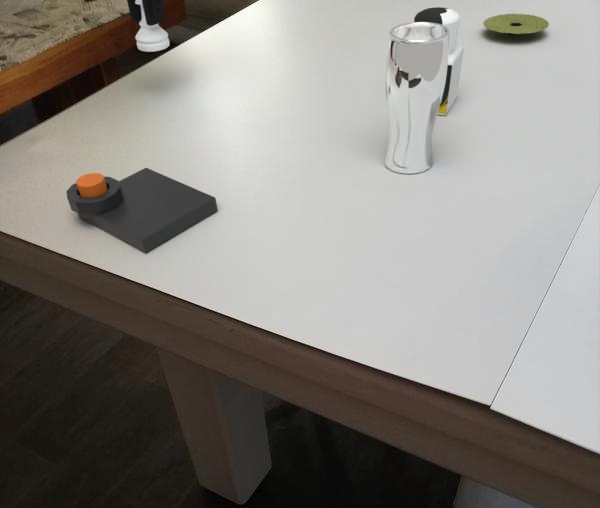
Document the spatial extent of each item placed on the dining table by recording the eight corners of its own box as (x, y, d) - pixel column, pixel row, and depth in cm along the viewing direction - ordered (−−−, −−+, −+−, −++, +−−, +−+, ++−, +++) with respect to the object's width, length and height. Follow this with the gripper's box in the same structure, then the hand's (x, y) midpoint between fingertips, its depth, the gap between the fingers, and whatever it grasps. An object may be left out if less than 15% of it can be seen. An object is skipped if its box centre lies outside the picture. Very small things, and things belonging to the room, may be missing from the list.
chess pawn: (132, 51, 90) (116, -19, 83) (145, 41, 93) (131, -28, 87) (162, 52, 89) (148, -19, 83) (174, 42, 92) (162, -28, 86)
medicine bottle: (397, 111, 87) (404, 17, 78) (411, 92, 91) (418, 2, 82) (445, 116, 84) (458, 20, 76) (457, 97, 89) (470, 4, 80)
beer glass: (369, 163, 76) (374, 32, 65) (407, 145, 79) (417, 17, 68) (409, 181, 72) (421, 46, 61) (447, 162, 75) (465, 29, 64)
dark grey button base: (66, 219, 71) (56, 192, 68) (144, 179, 77) (137, 152, 74) (138, 259, 64) (130, 231, 62) (218, 212, 70) (213, 184, 68)
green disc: (468, 35, 107) (469, 23, 105) (508, 21, 111) (511, 9, 110) (518, 50, 101) (521, 37, 99) (559, 34, 105) (562, 21, 103)
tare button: (74, 193, 69) (70, 181, 68) (97, 182, 70) (93, 170, 69) (90, 201, 67) (86, 189, 66) (113, 190, 69) (109, 177, 68)
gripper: (55, -143, 77) (96, 19, 91) (131, -139, 70) (164, 37, 83) (102, -149, 81) (135, 7, 94) (179, -146, 73) (203, 23, 87)
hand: (148, 20), depth 89 cm, fingers closed on chess pawn, 3 cm apart
